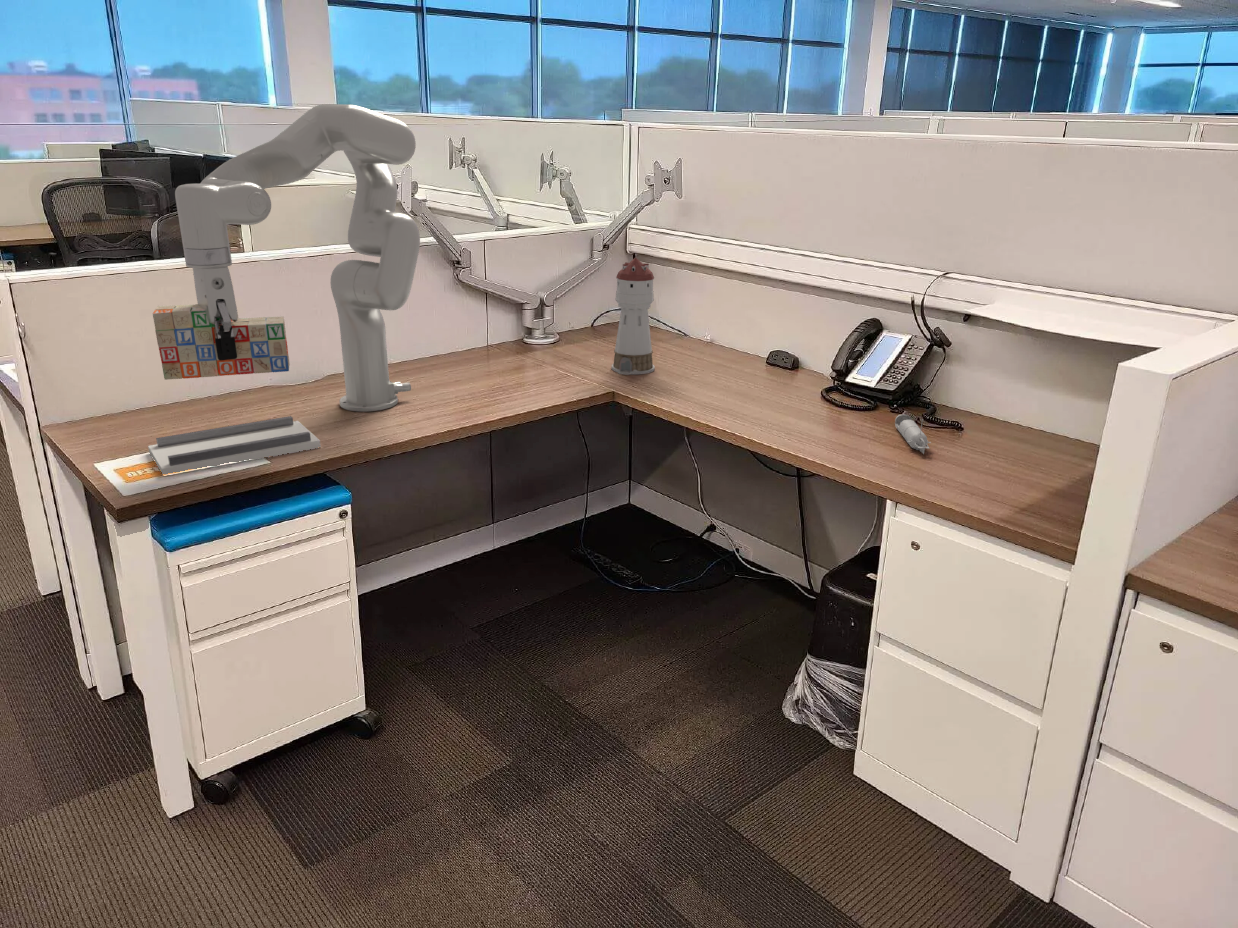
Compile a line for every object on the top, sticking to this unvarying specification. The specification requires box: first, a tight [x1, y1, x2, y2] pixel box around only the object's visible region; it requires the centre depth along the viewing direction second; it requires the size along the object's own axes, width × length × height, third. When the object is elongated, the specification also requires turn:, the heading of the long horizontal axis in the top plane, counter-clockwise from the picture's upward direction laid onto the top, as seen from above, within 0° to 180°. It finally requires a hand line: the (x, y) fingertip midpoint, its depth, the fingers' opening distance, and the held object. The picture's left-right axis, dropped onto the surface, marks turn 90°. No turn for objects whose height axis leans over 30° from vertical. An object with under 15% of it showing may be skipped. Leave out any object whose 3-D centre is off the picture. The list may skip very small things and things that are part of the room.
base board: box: [147, 415, 322, 475], centre depth 171 cm, size 28×14×3 cm, turn 125°
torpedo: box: [894, 414, 932, 455], centre depth 183 cm, size 18×5×6 cm, turn 178°
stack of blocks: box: [152, 303, 291, 380], centre depth 164 cm, size 21×6×12 cm, turn 108°
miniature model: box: [611, 253, 656, 376], centre depth 226 cm, size 11×12×30 cm
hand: (222, 353), depth 165 cm, fingers closed on stack of blocks, 7 cm apart
